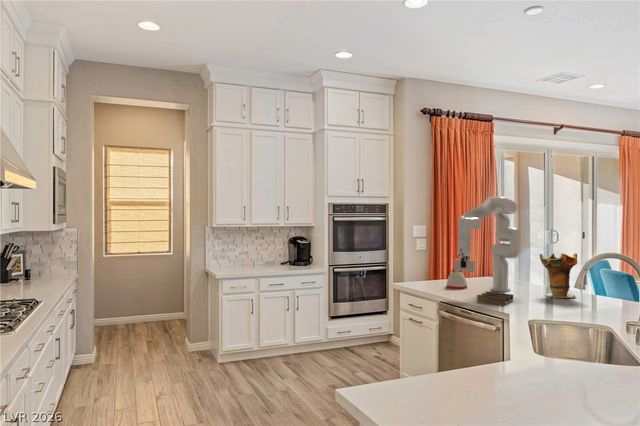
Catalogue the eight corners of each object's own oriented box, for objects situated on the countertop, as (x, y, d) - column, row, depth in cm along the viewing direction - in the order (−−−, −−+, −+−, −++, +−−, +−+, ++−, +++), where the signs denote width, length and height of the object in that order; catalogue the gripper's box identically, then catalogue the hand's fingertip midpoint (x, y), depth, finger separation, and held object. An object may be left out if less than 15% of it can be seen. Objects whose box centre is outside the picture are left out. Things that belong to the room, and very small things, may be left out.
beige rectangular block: (456, 269, 285) (456, 258, 284) (474, 271, 277) (475, 260, 277) (454, 270, 282) (454, 259, 282) (473, 272, 275) (473, 260, 274)
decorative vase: (549, 291, 300) (550, 249, 300) (585, 297, 281) (586, 252, 281) (531, 294, 289) (531, 251, 289) (567, 300, 270) (568, 254, 269)
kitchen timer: (469, 289, 309) (469, 267, 309) (449, 289, 309) (449, 267, 309) (463, 285, 323) (463, 264, 322) (444, 285, 323) (444, 264, 323)
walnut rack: (486, 298, 278) (486, 291, 278) (513, 301, 268) (513, 294, 268) (477, 301, 266) (477, 295, 266) (505, 305, 256) (505, 298, 256)
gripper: (463, 236, 288) (463, 265, 288) (453, 238, 275) (453, 268, 276) (475, 237, 283) (475, 266, 283) (465, 238, 271) (465, 269, 271)
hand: (464, 267), depth 279 cm, fingers closed on beige rectangular block, 2 cm apart
